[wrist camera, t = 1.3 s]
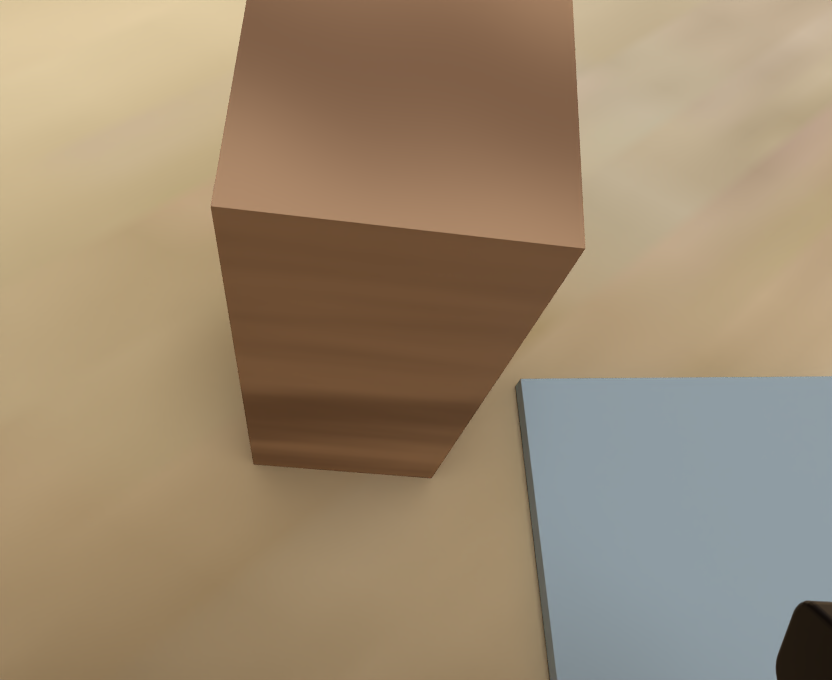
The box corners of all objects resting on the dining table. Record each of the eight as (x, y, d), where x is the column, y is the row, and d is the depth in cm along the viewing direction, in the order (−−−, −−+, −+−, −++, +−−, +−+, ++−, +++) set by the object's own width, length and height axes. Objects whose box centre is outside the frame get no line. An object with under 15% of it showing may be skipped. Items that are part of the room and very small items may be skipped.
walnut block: (431, 478, 23) (585, 248, 11) (253, 464, 22) (211, 206, 10) (436, 319, 25) (571, -20, 13) (274, 303, 24) (258, -68, 12)
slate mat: (1000, 804, 21) (1018, 807, 21) (570, 848, 19) (578, 853, 19) (871, 382, 26) (884, 375, 25) (515, 385, 24) (520, 379, 24)
